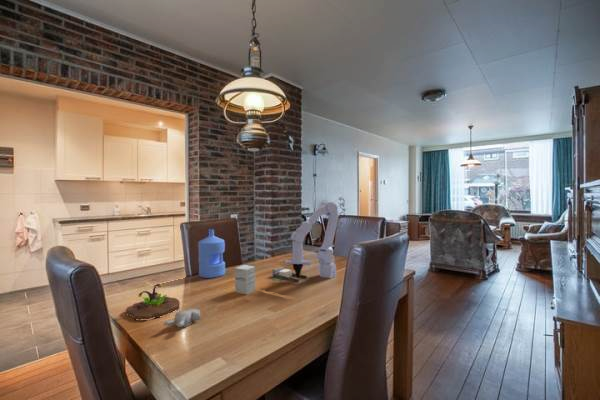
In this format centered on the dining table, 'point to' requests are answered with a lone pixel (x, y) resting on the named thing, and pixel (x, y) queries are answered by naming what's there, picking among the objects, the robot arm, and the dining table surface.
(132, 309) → the plant
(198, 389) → the dining table surface
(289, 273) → the white block with bar
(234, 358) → the dining table surface
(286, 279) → the gauge board
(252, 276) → the supplement box
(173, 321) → the bunny figurine
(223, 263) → the water jug
